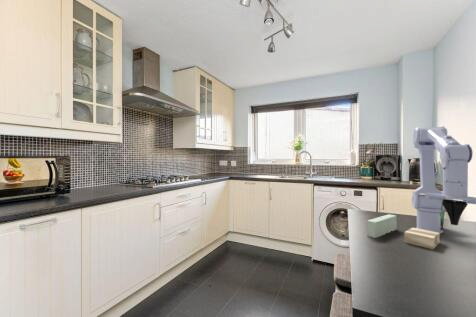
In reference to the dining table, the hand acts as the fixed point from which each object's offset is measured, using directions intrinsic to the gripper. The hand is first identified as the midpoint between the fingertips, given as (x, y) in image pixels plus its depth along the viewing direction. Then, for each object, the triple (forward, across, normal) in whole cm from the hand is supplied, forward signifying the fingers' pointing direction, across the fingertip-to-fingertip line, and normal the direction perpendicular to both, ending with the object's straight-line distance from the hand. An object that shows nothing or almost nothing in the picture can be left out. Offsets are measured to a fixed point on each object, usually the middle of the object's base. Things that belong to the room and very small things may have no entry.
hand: (454, 224), depth 71 cm
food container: (+10, -12, +33) cm, 37 cm away
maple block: (+10, -9, +4) cm, 14 cm away
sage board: (+9, -22, +3) cm, 24 cm away
